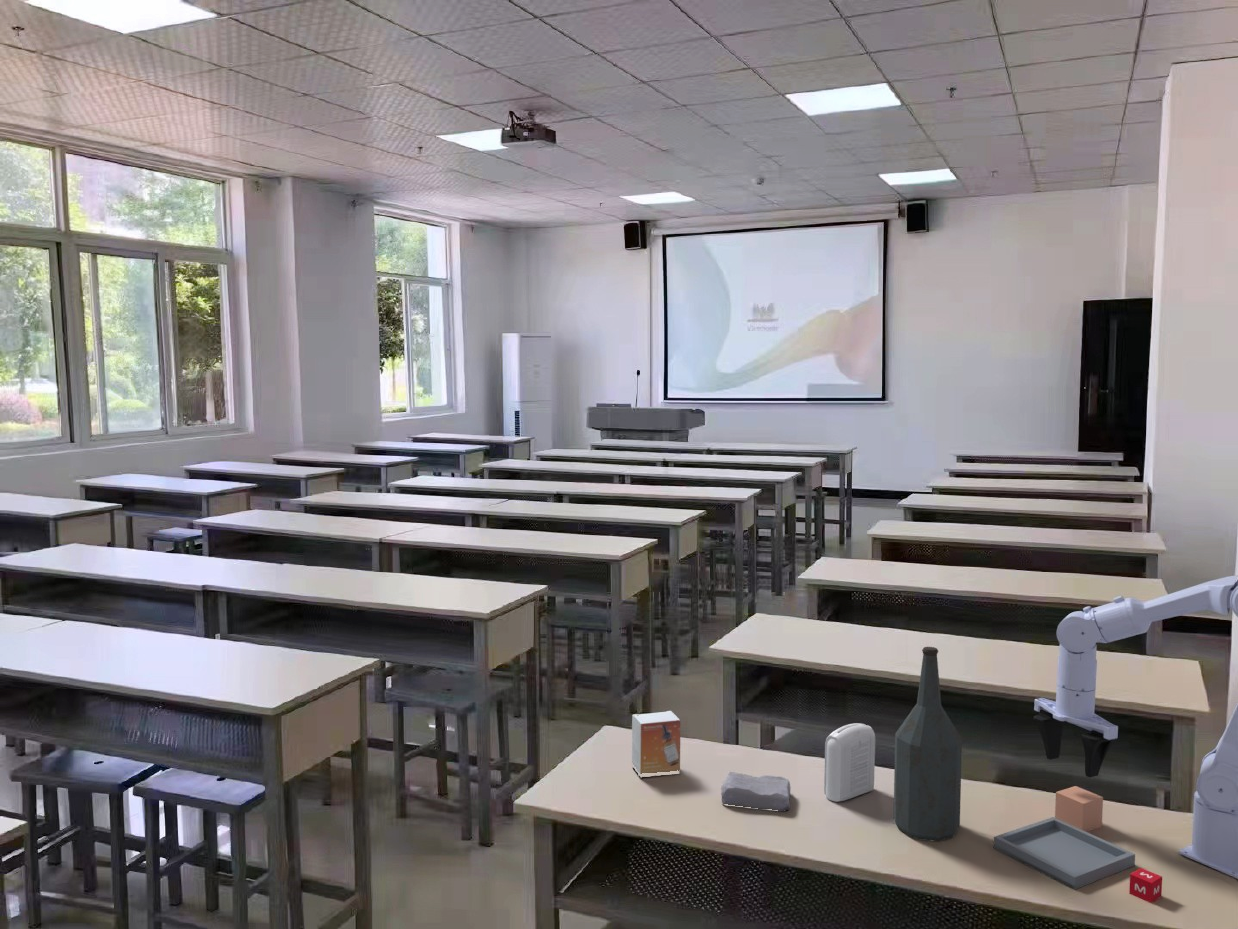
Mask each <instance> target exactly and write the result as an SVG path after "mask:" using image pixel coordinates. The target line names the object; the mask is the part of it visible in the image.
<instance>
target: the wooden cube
mask: <svg viewBox="0 0 1238 929" xmlns="http://www.w3.org/2000/svg"><path fill="white" fill-rule="evenodd" d="M1103 803H1104V797H1103V796H1102V795H1099V794H1096V793H1095V792H1091V791H1089V790H1087V789H1085V788H1082V787H1079V786H1077V785H1074V786H1071V787H1068V788H1067V787H1066V788H1065V789H1061V790H1058V791H1056V792H1055V806H1054V808H1055V810H1054V818H1057V819H1059V820H1061V821H1063V822H1065V823H1068V824H1070V825H1072V826H1074V827H1077V828H1079V829H1081V830H1083V831H1085V832H1089V830H1090V831H1092V829H1093V830H1096V829H1098V828H1100V827H1102V826H1103V812H1104V811H1103V807H1104V804H1103ZM1095 828H1096V829H1095Z"/></svg>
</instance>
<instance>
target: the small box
mask: <svg viewBox="0 0 1238 929" xmlns="http://www.w3.org/2000/svg"><path fill="white" fill-rule="evenodd" d="M631 716H632V718H631V720H632V721H631V722H632V723H631V764H632V763H633V765H634V767H636V769H637V771H638V772H639V773H640V774H642V773H657V772H670V771H677V770H678V771H679V770H680V771H681V726H682V725H681V720H680V718H679V717H678V716H677V715H676V714H675V713H674V712H673V711H672V710H667V711H662V712H661V711H660V712H651V713H641V714H640V713H638V714H637V713H635V714H632V715H631Z"/></svg>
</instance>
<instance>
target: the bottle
mask: <svg viewBox="0 0 1238 929" xmlns="http://www.w3.org/2000/svg"><path fill="white" fill-rule="evenodd" d="M921 651H922V652H921V653H922V662H921V670H920V677H919V683H918V684H919V685H918V692H917V699H916V704H915V705H914V707H913V708H912V709H911V711H910V713H909V714H908V715H907V716H906V718H905V719H904V720H903V722H902V724H901V725H900V726H899V728H898V729H897V731H896V732H895V733H894V734H895V735H894V778H893V780H894V782H893V820H894V824H895V825H896V827H897V829H898V830H900V831H901V832H903V833H904V834H905V835H907V836H909V837H911V838H914V839H917V840H923V841H930V840H933V842H941V841H944V840H949V839H952V838H953V837H954V836H955V835H956V833H958V832H957V831H958V829H959V828H960V826H961V799H962V798H961V797H962V796H961V793H962V792H961V791H962V760H963V759H962V756H963V755H962V754H963V752H962V750H963V747H962V746H963V738H962V737H961V736H960V734H959V732H958V730H957V728H956V727H955V725H954V724H953V723H952V720H951V719H950V717H949V715H948V714H947V712H946V710H945V709H944V707H943V705H942V699H941V687H940V685H941V684H940V675H939V673H940V672H939V662H938V653H939V649H938V647H934V646H924V647H923V648H922V650H921Z"/></svg>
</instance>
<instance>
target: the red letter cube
mask: <svg viewBox="0 0 1238 929" xmlns="http://www.w3.org/2000/svg"><path fill="white" fill-rule="evenodd" d="M1128 889H1129V891H1128V892H1129V895H1131V896H1134V897H1136V898H1138V899H1141V900H1142V901H1145V902H1147V903H1149V904H1153V903H1154V902H1155V901H1157V900H1158V899H1160V898H1161V897H1162V892H1163V891H1162V890H1163V876H1162V875H1159V874H1156V873H1155V872H1152V871H1149V870H1147V869H1145V868H1142V867H1140V868H1138V869H1136V870H1135V871H1133V872H1131V873H1129V888H1128Z"/></svg>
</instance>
